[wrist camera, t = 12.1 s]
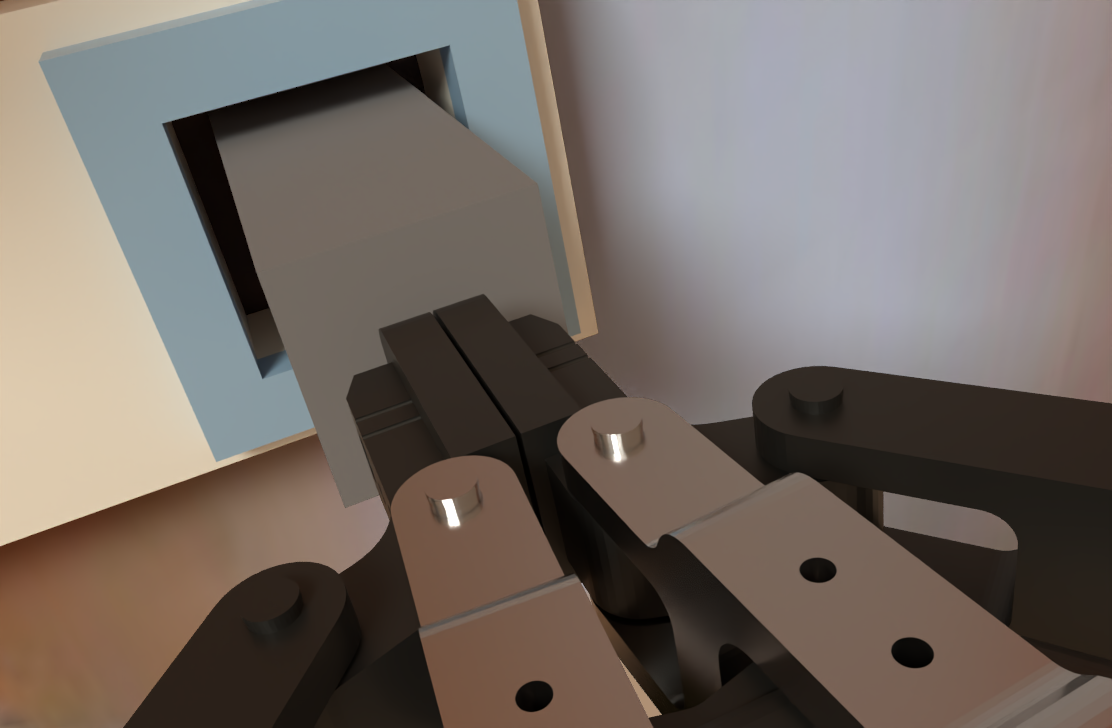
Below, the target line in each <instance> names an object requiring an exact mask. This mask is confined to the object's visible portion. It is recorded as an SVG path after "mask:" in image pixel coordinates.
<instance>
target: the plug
mask: <svg viewBox="0 0 1112 728" xmlns="http://www.w3.org/2000/svg"><path fill="white" fill-rule="evenodd" d="M208 116H209V119H210V122H211V126H212V129H213V132H214V135H215V139H216V142H217V145H218V148H219V152H220V155H221V158H222V161H223V165H224V168H225V171H226V175H227V178H228V181H229V184H230V188H231V191H232V194H233V197H234V201H235V204H236V207H237V211H238V214H239V217H240V220H241V224H242V227H243V230H244V233H245V237H246V240H247V243H248V247H249V250H250V253H251V256H252V260H253V263H254V266H255V269H256V273H257V275H258V278H259V281H260V283H261V286H262V289H263V291H264V294H265V297H266V299H267V302H268V305H269V307H270V310H271V313H272V315H273V318H274V321H275V323H276V326H277V328H278V331H279V334H280V336H281V339H282V342H283V344H284V347H285V350H286V352H287V355H288V358H289V360H290V363H291V366H292V368H293V371H294V374H295V376H296V379H297V382H298V384H299V387H300V390H301V392H302V395H303V398H304V400H305V403H306V406H307V408H308V411H309V413H310V416H311V419H312V421H313V424H314V427H315V429H316V432H317V435H318V437H319V440H320V443H321V445H322V448H323V451H324V453H325V456H326V459H327V461H328V464H329V467H330V469H331V472H332V475H333V477H334V480H335V483H336V485H337V488H338V490H339V493H340V496H341V498H342V501H343V504H344V506H345V508H347V507H349V506H352V505H354V504H357V503H360V502H362V501H365V500H368V499H370V498H373V497H376V496H378V495H379V493H378V490H377V488H376V485H375V482H374V479H373V476H372V473H371V470H370V467H369V464H368V462H367V459H366V456H365V453H364V450H363V447H362V444H361V441H360V438H359V435H358V432H357V429H356V426H355V423H354V420H353V418H352V415H351V412H350V409H349V406H348V403H347V400H346V397H347V394H348V391H349V388H350V385H351V382H352V379H353V376H354V375H356V374H359V373H362V372H365V371H368V370H371V369H373V368H376V367H379V366H382V365H385V364H388V363H387V360H386V356H385V353H384V350H383V347H382V343H381V340H380V336H379V329H380V328H383V327H386V326H389V325H392V324H395V323H398V322H401V321H404V320H407V319H410V318H413V317H416V316H419V315H421V314H424V313H427V312H431V314H432V315H433V310H436V309H439V308H442V307H445V306H448V305H451V304H454V303H457V302H460V301H463V300H466V299H469V298H472V297H475V296H478V295H481V294H485V295H486V296H487V298H488V299H489V300H490V301H491V302H492V303H493V305H494V306H495V307H496V308H497V309H498V311H499V312H500V313H501V314H502V315H503V317H504V318H505V319H506V320H507V321H508V322H509V321H512V320H515V319H518V318H521V317H524V316H527V315H529V314H532V315H535V316H537V317H540V318H543V319H546V320H549V321H552V322H554V323H557V324H559V325H560V326H561V327H562V328H563V329H564V330H565V331H566V332H567V334H568V330H567V325H566V320H565V315H564V310H563V305H562V300H561V295H560V290H559V285H558V281H557V276H556V271H555V266H554V261H553V256H552V251H551V246H550V241H549V236H548V231H547V227H546V222H545V217H544V212H543V207H542V202H541V197H540V192H539V187H538V184H537V183H536V182H535V181H534V180H532V179H531V178H530V177H529V176H527V175H526V174H525V173H523V172H522V171H521V170H520V169H518V168H517V167H516V166H515V165H513V164H512V163H511V162H509V161H508V160H507V159H506V158H504V157H503V156H502V155H501V154H499V153H498V152H497V151H495V150H494V149H493V148H492V147H490V146H489V145H488V144H487V143H485V142H484V141H483V140H481V139H480V138H479V137H478V136H476V135H475V134H474V133H473V132H471V131H470V130H469V129H467V128H466V127H465V126H464V125H462V124H461V123H460V122H459V121H457V120H456V119H455V118H453V117H452V116H451V115H450V114H448V113H447V112H446V111H445V110H443V109H442V108H441V107H440V106H438V105H437V104H436V103H434V102H433V101H432V100H431V99H429V98H428V97H427V96H426V95H424V94H423V93H422V92H420V91H419V90H418V89H417V88H415V87H414V86H413V85H412V84H410V83H409V82H408V81H406V80H405V79H404V78H403V77H401V76H400V75H399V74H398V73H396V72H395V71H394V70H392V69H391V68H390V67H389V66H387V65H386V64H382V65H378V66H374V67H371V68H367V69H363V70H360V71H356V72H353V73H349V74H345V75H342V76H338V77H335V78H331V79H327V80H324V81H320V82H316V83H313V84H309V85H306V86H302V87H298V88H295V89H291V90H287V91H284V92H280V93H277V94H273V95H269V96H266V97H262V98H258V99H255V100H251V101H248V102H244V103H240V104H237V105H233V106H229V107H226V108H222V109H219V110H215V111H211V112H208ZM568 335H569V334H568Z"/></svg>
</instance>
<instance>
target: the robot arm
mask: <svg viewBox="0 0 1112 728" xmlns="http://www.w3.org/2000/svg"><path fill="white" fill-rule="evenodd" d="M379 336H380V340H381V343H382V347H383V350H384V353H385V356H386V360H387V363H388V364H385V365H382V366H379V367H376V368H373V369H371V370H368V371H365V372H362V373H359V374H356V375H354V376H353V379H352V382H351V385H350V388H349V391H348V394H347V397H346V400H347V403H348V406H349V409H350V412H351V415H352V418H353V420H354V423H355V426H356V429H357V432H358V435H359V438H360V441H361V444H362V447H363V450H364V453H365V456H366V459H367V462H368V464H369V467H370V470H371V473H372V476H373V479H374V482H375V485H376V488H377V490H378V493H379V495H380V498H381V500H382V503H383V505H384V508H385V510H386V512H387V515H388V518H389V520H390V521H389V525H388V527H387V529H386V532H385V533H384V535H383V536H382V538H381V539H380V541H379V542H378V543H377V544H376V545H375V547H374V548H373V549H372V550H371V551H370V552H369V553H368V554H366V555H365V556H364V557H363V558H362V559H360V560H359V561H358V562H356V563H355V564H354V565H352V566H351V567H349V568H347V569H346V570H344V571H343V572H341V573H340V574H338V573H337V572H336V571H335V570H333V569H331V568H330V567H328V566H325V565H322V564H319V563H313V562H294V563H286V564H282V565H278V566H274V567H272V568H269V569H266V570H263V571H261V572H259V573H257V574H255V575H252V576H251V577H249V578H247V579H246V580H244V581H242V582H241V583H239V584H238V585H237V586H235V587H234V588H233V589H231V590H230V591H229V592H228V593H227V594H226V595H225V596H224V597H223V598H222V599H221V600H220V601H219V602H218V603H217V604H216V606H215V607H214V608H213V609H212V611H211V612H210V613H209V615H208V616H207V617H206V619H205V620H204V621H203V623H202V624H201V625H200V627H199V628H198V629H197V631H196V632H195V633H194V635H193V636H192V637H191V639H190V640H189V641H188V643H187V644H186V645H185V647H184V648H183V649H182V651H181V652H180V653H179V655H178V656H177V657H176V658H175V660H174V661H173V662H172V664H171V665H170V666H169V668H168V669H167V670H166V672H165V673H164V674H163V676H162V677H161V678H160V680H159V681H158V682H157V684H156V685H155V686H154V688H153V689H152V690H151V692H150V693H149V694H148V696H147V697H146V698H145V700H144V701H143V702H142V704H141V705H140V706H139V708H138V709H137V710H136V711H135V713H134V714H133V715H132V717H131V718H130V719H129V721H128V722H127V723H126V725H125V726H124V727H123V728H1112V404H1111V403H1104V402H1096V401H1088V400H1081V399H1073V398H1066V397H1058V396H1051V395H1043V394H1035V393H1028V392H1020V391H1013V390H1005V389H998V388H990V387H982V386H975V385H967V384H960V383H952V382H944V381H937V380H929V379H922V378H914V377H907V376H899V375H891V374H884V373H876V372H869V371H861V370H854V369H846V368H838V367H828V366H811V367H802V368H797V369H792V370H789V371H785V372H782V373H780V374H778V375H775V376H773V377H772V378H770V379H768V380H767V381H765V382H764V383H763V384H762V385H761V386H760V387H759V388H758V389H757V390H756V392H755V394H754V396H753V400H752V408H753V417H748V418H742V419H736V420H729V421H723V422H717V423H710V424H699V425H690V424H689V423H688V422H687V421H685V420H684V419H683V418H682V417H681V416H679V415H678V414H677V413H676V412H674V411H673V410H672V409H671V408H669V407H668V406H666V405H665V404H662V403H660V402H658V401H654V400H651V399H646V398H639V397H627V396H626V395H625V394H624V393H623V392H622V391H621V390H620V389H619V388H618V386H617V385H616V384H615V383H614V382H613V381H612V380H611V379H610V378H609V377H608V376H607V375H606V374H605V373H604V372H603V371H602V370H601V368H600V367H599V366H598V365H597V364H596V363H595V362H594V361H593V360H592V359H591V358H588V356H587V354H586V353H585V352H584V350H583V349H582V348H581V347H580V346H579V345H578V344H575V342H574V340H573V339H572V338H571V337H570V336H569V335H568V334H567V332H566V331H565V330H564V329H563V328H562V327H561V326H560V325H559V324H557V323H554V322H552V321H549V320H546V319H543V318H540V317H537V316H535V315H532V314H529V315H527V316H524V317H521V318H518V319H515V320H512V321H509V322H508V321H507V320H506V319H505V318H504V317H503V315H502V314H501V313H500V312H499V311H498V309H497V308H496V307H495V306H494V305H493V303H492V302H491V301H490V300H489V299H488V298H487V296H486V295H485V294H481V295H478V296H475V297H472V298H469V299H466V300H463V301H460V302H457V303H454V304H451V305H448V306H445V307H442V308H439V309H436V310H433V315H432V314H431V312H427V313H424V314H421V315H419V316H416V317H413V318H410V319H407V320H404V321H401V322H398V323H395V324H392V325H389V326H386V327H383V328H380V329H379ZM883 491H885V492H890V493H895V494H900V495H905V496H911V497H916V498H921V499H926V500H932V501H937V502H942V503H947V504H952V505H958V506H963V507H968V508H973V509H979V510H983V511H987V512H989V513H992V514H994V515H996V516H998V517H1000V518H1001V519H1002V520H1004V521H1005V522H1006V523H1007V524H1008V525H1009V526H1010V527H1011V528H1012V529H1013V531H1014V532H1015V534H1016V536H1017V540H1018V549H1017V550H1012V551H1000V550H994V549H990V548H985V547H980V546H975V545H971V544H966V543H961V542H956V541H951V540H947V539H942V538H937V537H932V536H928V535H923V534H918V533H913V532H908V531H904V530H899V529H894V528H889V527H885V526H883ZM581 583H583V585H584V586H585V588H586V589H587V591H588V592H589V594H590V598H591V602H590V600H589V598H588V596H587V594H586V592H585V590H584V588H583V586H582V584H581ZM591 603H592V604H591ZM618 657H619V658H618ZM619 659H620V660H621V661H622V663H623V664H624V665H625V667H626V668H627V669H628V671H629V672H630V673H631V675H632V676H633V677H634V679H635V680H636V681H637V682H638V684H639V685H640V686H641V688H642V689H643V690H644V692H645V693H646V694H647V696H648V697H649V698H650V700H651V701H652V702H653V703H654V705H655V706H656V708H657V709H658V710H659V712H660V713H661V714H662V715H659V716H655V717H650V718H648V716H647V714H646V712H645V710H644V708H643V706H642V704H641V702H640V700H639V698H638V696H637V694H636V692H635V690H634V688H633V686H632V684H631V682H630V680H629V678H628V676H627V674H626V672H625V670H624V668H623V666H622V664H621V662H620V660H619Z"/></svg>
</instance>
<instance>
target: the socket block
mask: <svg viewBox="0 0 1112 728" xmlns="http://www.w3.org/2000/svg"><path fill="white" fill-rule="evenodd" d="M415 54H416V57H417V61H418V65H419V69H420V73H421V77H422V81H423V85H424V89H425V93H426V96H427V97H428V98H429V99H431V100H432V101H433V102H434V103H436V104H437V105H438V106H440V107H441V108H442V109H443V110H445V111H446V112H447V113H448V114H450V115H451V116H452V117H453V118H455V119H456V120H457V121H459V122H460V123H461V124H462V125H464V126H465V127H466V128H467V129H469V130H470V131H471V132H473V133H474V134H475V135H476V136H478V137H479V138H480V139H481V140H483V141H484V142H485V143H487V144H488V145H489V146H490V147H492V148H493V149H494V150H495V151H497V152H498V153H499V154H501V155H502V156H503V157H504V158H506V159H507V160H508V161H509V162H511V163H512V164H513V165H515V166H516V167H517V168H518V169H520V170H521V171H522V172H523V173H525V174H526V175H527V176H529V177H530V178H531V179H532V180H534V181H535V182H536V183H537V184H538V187H539V192H540V197H541V202H542V207H543V212H544V217H545V222H546V227H547V231H548V236H549V241H550V246H551V251H552V256H553V261H554V266H555V271H556V276H557V281H558V285H559V290H560V295H561V300H562V305H563V310H564V315H565V320H566V325H567V330H568V334H569V336H570V337H571V338H572V339H573V340H574V342H575V341H578V340H581V339H584V338H586V337H589V336H592V335H595V334H598V328H597V323H596V317H595V312H594V306H593V301H592V295H591V290H590V284H589V279H588V273H587V268H586V262H585V257H584V251H583V246H582V240H581V235H580V229H579V224H578V218H577V213H576V207H575V202H574V196H573V191H572V185H571V180H570V174H569V169H568V163H567V158H566V152H565V147H564V141H563V136H562V130H561V125H560V119H559V114H558V108H557V103H556V97H555V92H554V86H553V81H552V75H551V70H550V64H549V59H548V53H547V48H546V42H545V37H544V31H543V26H542V20H541V15H540V10H539V4H538V0H4V1H0V546H2V545H5V544H7V543H10V542H13V541H16V540H19V539H21V538H24V537H27V536H30V535H33V534H36V533H38V532H41V531H44V530H47V529H50V528H52V527H55V526H58V525H61V524H64V523H66V522H69V521H72V520H75V519H78V518H80V517H83V516H86V515H89V514H92V513H95V512H97V511H100V510H103V509H106V508H109V507H111V506H114V505H117V504H120V503H123V502H125V501H128V500H131V499H134V498H137V497H140V496H142V495H145V494H148V493H151V492H154V491H156V490H159V489H162V488H165V487H168V486H170V485H173V484H176V483H179V482H182V481H184V480H187V479H190V478H193V477H196V476H199V475H201V474H204V473H207V472H210V471H213V470H215V469H218V468H221V467H224V466H227V465H229V464H232V463H235V462H238V461H241V460H244V459H246V458H249V457H252V456H255V455H258V454H260V453H263V452H266V451H269V450H272V449H274V448H277V447H280V446H283V445H286V444H288V443H291V442H294V441H297V440H300V439H303V438H305V437H308V436H311V435H314V434H317V432H316V429H315V427H314V424H313V421H312V419H311V416H310V413H309V411H308V408H307V406H306V403H305V400H304V398H303V395H302V392H301V390H300V387H299V384H298V382H297V379H296V376H295V374H294V371H293V368H292V366H291V363H290V360H289V358H288V355H287V352H286V350H285V347H284V344H283V342H282V339H281V336H280V334H279V331H278V328H277V326H276V323H275V321H274V318H273V315H272V313H271V310H270V308H267V309H264V310H261V311H258V312H255V313H252V314H249V315H246V313H245V311H244V308H243V306H242V303H241V300H240V298H239V295H238V293H237V290H236V287H235V285H234V282H233V280H232V277H231V275H230V272H229V269H228V267H227V264H226V262H225V259H224V257H223V254H222V251H221V249H220V246H219V244H218V241H217V239H216V236H215V233H214V231H213V228H212V226H211V223H210V220H209V218H208V215H207V213H206V210H205V208H204V205H203V202H202V200H201V197H200V195H199V192H198V190H197V187H196V184H195V182H194V179H193V177H192V174H191V171H190V169H189V166H188V164H187V161H186V159H185V156H184V153H183V151H182V148H181V146H180V143H179V141H178V138H177V135H176V133H175V130H174V128H173V125H172V123H171V121H173V120H177V119H180V118H184V117H188V116H191V115H195V114H199V113H202V112H206V111H210V110H213V109H217V108H221V107H224V106H228V105H232V104H235V103H239V102H243V101H246V100H250V99H254V98H257V97H261V96H265V95H268V94H272V93H276V92H280V91H283V90H287V89H291V88H294V87H298V86H302V85H305V84H309V83H313V82H316V81H320V80H324V79H327V78H331V77H335V76H338V75H342V74H346V73H349V72H353V71H357V70H360V69H364V68H368V67H371V66H375V65H379V64H382V63H386V62H390V61H393V60H397V59H401V58H404V57H408V56H412V55H415Z"/></svg>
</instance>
